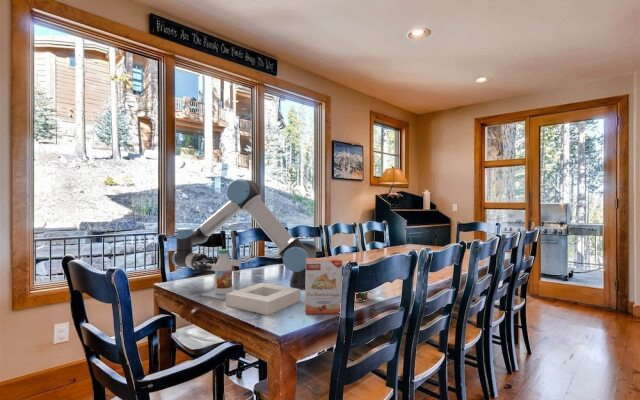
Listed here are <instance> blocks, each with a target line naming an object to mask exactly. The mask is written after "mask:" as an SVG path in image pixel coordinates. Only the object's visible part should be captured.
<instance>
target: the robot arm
mask: <svg viewBox="0 0 640 400" xmlns="http://www.w3.org/2000/svg"><path fill="white" fill-rule="evenodd" d="M226 197H227V198H228V200H229V201H228V202H226V204H224V205H223V206H222V207H221V208H220V209H218V210H217V211H216V212H215V213H214V214H212V215H211V216H210V217H209V218H207V219H206V220H205V221H204V222H203V223H202V224H201V225H199V226H198V227H197V228H196V229H195V230H193V229H192V228H191V227H181V228H180V227H179V228H177V230H176V251H175V252H174V253H173V255H172V256H171V261H172V264H173V265H175V266H177V267H180V268H189V269H191V270H199V271H202V272H207V271H213V272H215V271H218V265H216V263H217V261H218V259H219V257H213V258H212V257H208V255H207V254H204V253H199V252H198V253H197V252H193V250H194V249H193V246H195V245H198V244H199V245H201V244H204V243H206V242H207V241H208V240H209V237H211V236H212V235H213V234H214V233H215V232H217V231H218V230H219V229H221V227H222V226H224V225H225V224H226V223H227V222H228V221H230V220H231V219H232V218H233V217H235V216H236V215H237V214H238V213H240V211H243V212H247V213H248V215H249V216H250V217H251V218H252V219H253V221H254V222H255V223H257V225H258V227H260V228H261V230H262V231H263V232H264V233H265V235H267V237H268V238H269V239H270V240H271V241H272V243H273V244H274V246H276V247H277V250H278V255H279V256H280V257H281V259H282V263H283V266H285V268H286V269H287V270H288V271H290V272H292V273H291V277H290V279H289V287H290V288H296V289H300V290H305V281H306V258H317V242H316V241H314V240H300V239H299V238H298V237H293V236H292V235H291V234H290V232H289V231H288V230H287V229H286V228H285V226H284V225H283V224H282V222H280V221H279V219H278V218H277V217H276V216H275V215H274V213H273V212H272V211H271V210H270V209H269V208H268V207H267V205H266V204H265V203H264V202H263V201H262V195H261V189H260V186H259V185H258V183H256V182H255V181H254V180H249V179H244V178H236V179H234V180H231V182H230V183H229V184H228V185H227V188H226ZM229 260H230V262H231V264H232V267H233V266H235V267H240V266H241V260H240V259H239V260H238V259H234V258H233V257H231V256H229Z"/></svg>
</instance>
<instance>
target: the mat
mask: <svg viewBox="0 0 640 400" xmlns="http://www.w3.org/2000/svg"><path fill="white" fill-rule="evenodd" d="M236 290H237V289H234V288H232V292H233V291H236ZM200 296H202V297H208V298H211V299H216V300H221V301H226V294H216V293H215V289H213V290H210V291H206V292H203V293H201V294H200Z"/></svg>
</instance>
